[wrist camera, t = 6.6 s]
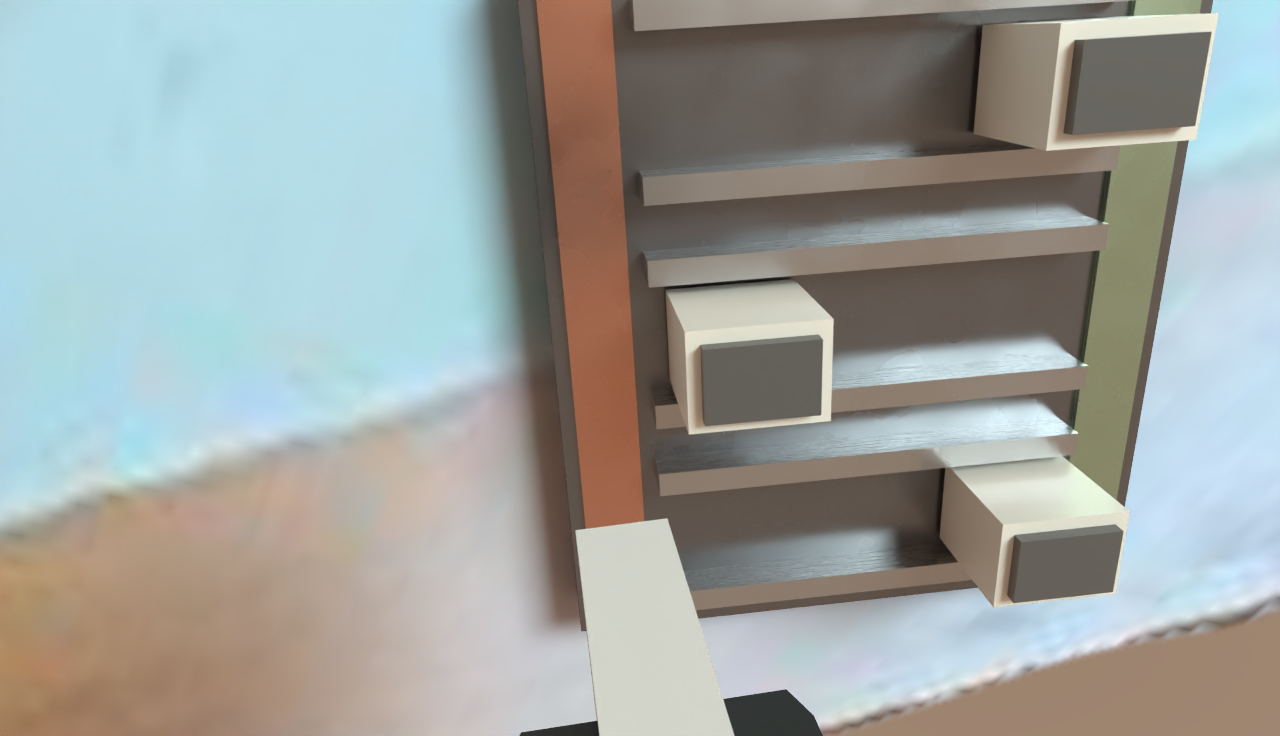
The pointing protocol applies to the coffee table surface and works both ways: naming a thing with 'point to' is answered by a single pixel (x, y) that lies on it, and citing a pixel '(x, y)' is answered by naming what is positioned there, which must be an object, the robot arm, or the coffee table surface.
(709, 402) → the block
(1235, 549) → the coffee table surface
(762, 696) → the robot arm
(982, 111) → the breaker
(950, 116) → the panel
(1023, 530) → the block
